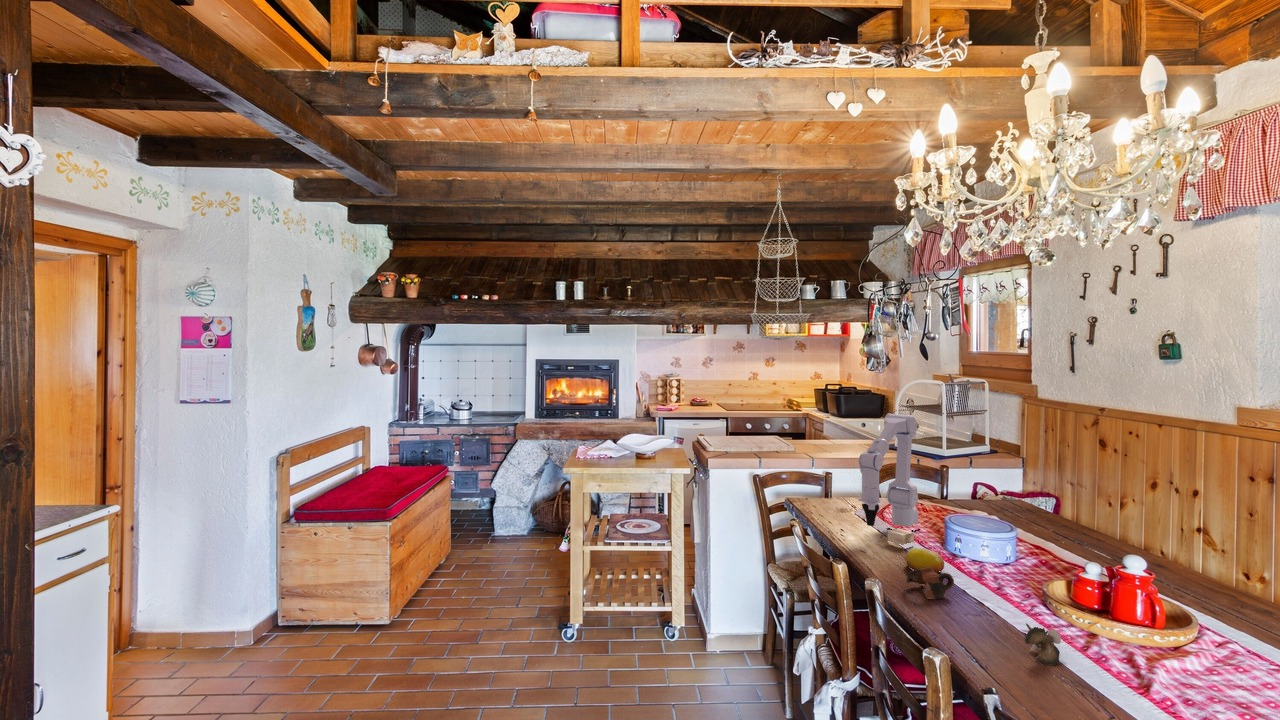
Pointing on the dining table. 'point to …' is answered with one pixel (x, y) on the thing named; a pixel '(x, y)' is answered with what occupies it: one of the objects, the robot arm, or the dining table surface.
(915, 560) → the fruit
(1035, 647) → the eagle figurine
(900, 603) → the dining table surface
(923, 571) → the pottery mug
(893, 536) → the ash block
